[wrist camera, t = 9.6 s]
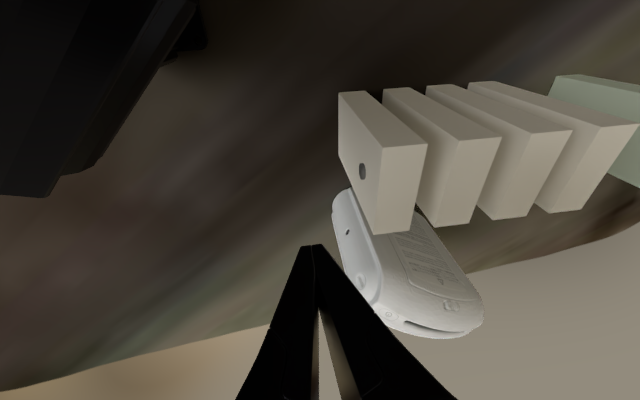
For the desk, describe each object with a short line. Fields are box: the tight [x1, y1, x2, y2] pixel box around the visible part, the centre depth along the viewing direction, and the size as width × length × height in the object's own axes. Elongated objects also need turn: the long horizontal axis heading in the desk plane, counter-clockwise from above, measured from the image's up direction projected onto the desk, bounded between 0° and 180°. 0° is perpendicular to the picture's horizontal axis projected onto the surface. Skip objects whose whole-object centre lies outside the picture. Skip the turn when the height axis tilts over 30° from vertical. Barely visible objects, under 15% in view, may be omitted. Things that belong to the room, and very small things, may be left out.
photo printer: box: [332, 187, 484, 339], centre depth 21 cm, size 10×4×12 cm, turn 62°
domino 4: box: [467, 81, 640, 213], centre depth 17 cm, size 5×2×10 cm, turn 2°
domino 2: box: [382, 87, 502, 228], centre depth 17 cm, size 5×2×10 cm, turn 2°
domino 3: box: [425, 84, 573, 220], centre depth 17 cm, size 5×2×10 cm, turn 2°
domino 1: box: [338, 91, 428, 235], centre depth 16 cm, size 5×2×10 cm, turn 2°
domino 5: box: [548, 74, 640, 188], centre depth 18 cm, size 5×2×10 cm, turn 2°
